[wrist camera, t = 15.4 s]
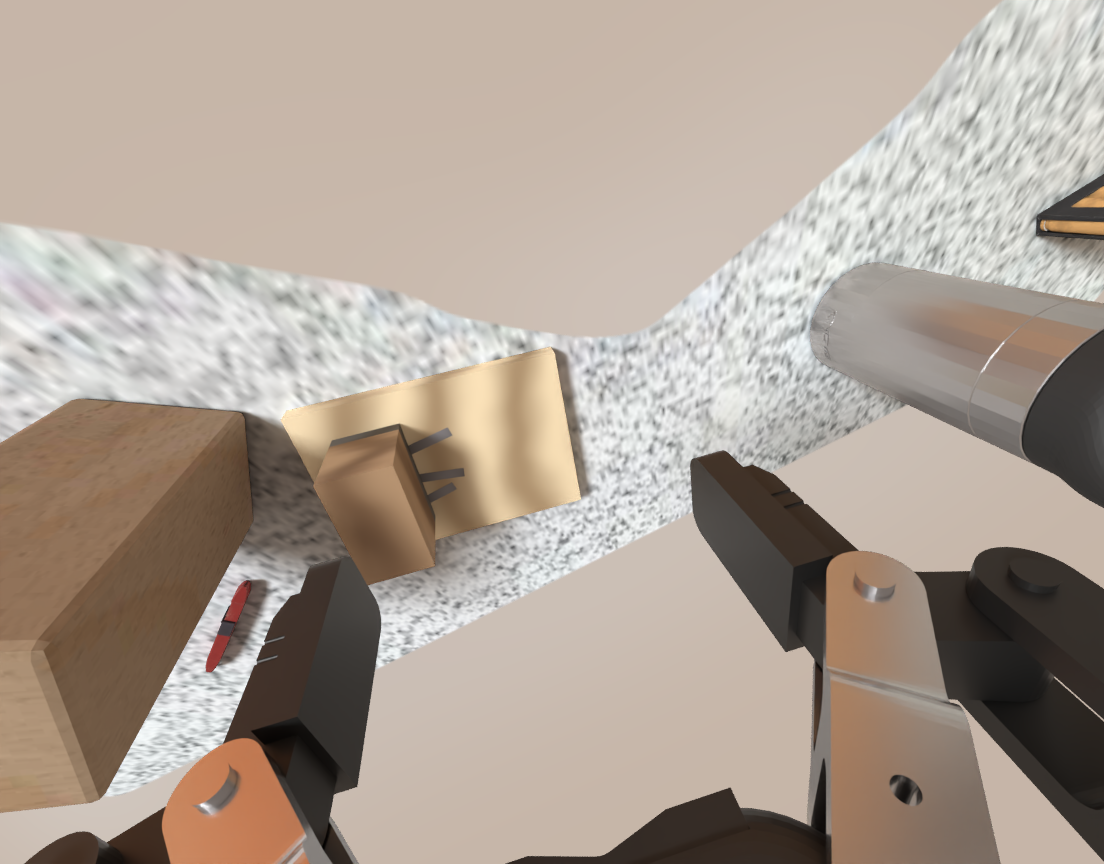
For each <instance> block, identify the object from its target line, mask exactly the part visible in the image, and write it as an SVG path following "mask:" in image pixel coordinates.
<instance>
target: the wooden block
mask: <svg viewBox="0 0 1104 864" xmlns="http://www.w3.org/2000/svg"><path fill="white" fill-rule="evenodd" d="M252 522H253V512H252V500H251V488H250V477H249V465H248V453H247V442H246V430H245V419H244V416H243V414H242V413H239V412H232V411H220V410H208V409H197V408H185V407H173V406H161V405H149V404H137V403H125V402H113V401H102V400H90V399H76V400H71V401H70V402H68V403H66V404H65V405H63V406H61V407H60V408H58V409H56V410H55V411H53V412H51V413H50V414H48V415H46V416H45V417H43V418H41V419H40V420H38V421H36V422H35V423H33V424H31V425H30V426H28V427H26V428H25V429H23V430H21V431H20V432H18V433H16V434H15V435H13V436H11V437H10V438H8V439H6V440H5V441H3V442H1V443H0V813H3V812H12V811H21V810H30V809H39V808H47V807H57V806H66V805H75V804H84V803H92V802H94V801H97V800H99V799H100V798H101V797H102V796H103V795H104V794H105V793H106V791H107V789H108V787H109V786H110V784H111V782H112V780H113V778H114V776H115V775H116V773H117V771H118V769H119V767H120V765H121V764H122V762H123V760H124V758H125V756H126V754H127V752H128V751H129V749H130V747H131V745H132V743H133V741H134V740H135V738H136V736H137V734H138V732H139V730H140V729H141V727H142V725H143V723H144V721H145V719H146V718H147V716H148V714H149V712H150V710H151V708H152V706H153V705H154V703H155V701H156V699H157V697H158V695H159V694H160V692H161V690H162V688H163V686H164V684H165V683H166V681H167V679H168V677H169V675H170V673H171V671H172V670H173V668H174V666H175V664H176V662H177V660H178V659H179V657H180V655H181V653H182V651H183V649H184V648H185V646H186V644H187V642H188V640H189V638H190V636H191V635H192V633H193V631H194V629H195V627H196V625H197V624H198V622H199V620H200V618H201V616H202V614H203V613H204V611H205V609H206V607H207V605H208V603H209V601H210V600H211V598H212V596H213V594H214V592H215V590H216V589H217V587H218V585H219V583H220V581H221V579H222V578H223V576H224V574H225V572H226V570H227V568H228V566H229V565H230V563H231V561H232V559H233V557H234V555H235V554H236V552H237V550H238V548H239V546H240V544H241V543H242V541H243V539H244V537H245V535H246V533H247V532H248V530H249V528H250V526H251V524H252Z"/></svg>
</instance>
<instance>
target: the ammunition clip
mask: <svg viewBox="0 0 1104 864" xmlns="http://www.w3.org/2000/svg"><path fill="white" fill-rule="evenodd" d="M1037 235H1040V236H1055V237H1069V238H1083V239H1097V240H1104V174H1103V175H1102V176H1100V177H1098V178H1097V179H1095V180H1094V181H1092V182H1090V183H1089V184H1087V185H1085V186H1084V187H1082V188H1081V189H1079V190H1077V191H1076V192H1074V193H1072V194H1071V195H1069V196H1068V197H1066V198H1064V199H1063V200H1061V201H1059V202H1058V203H1056V204H1054V205H1053V206H1051V207H1050V208H1048V209H1046V210H1045V211H1043V212H1041V213H1040V214H1038V217H1037Z"/></svg>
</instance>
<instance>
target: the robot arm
mask: <svg viewBox="0 0 1104 864" xmlns="http://www.w3.org/2000/svg"><path fill="white" fill-rule="evenodd" d="M810 342H811V347H812V350H813V352H814V354H815V356H816V358H817V359H818V360H819V361H820V362H821V363H823V364H825V365H827V366H829V367H831V368H833V369H835V370H837V371H839V372H841V373H843V374H845V375H847V376H849V377H852V378H854V379H856V380H857V381H859V382H861V383H864V384H866V385H868V386H870V387H872V388H874V389H876V390H878V391H880V392H883V393H885V394H887V395H889V396H891V397H893V398H895V399H897V400H899V401H901V402H904V403H906V404H908V405H910V406H912V407H914V408H916V409H918V410H920V411H923V412H925V413H927V414H929V415H931V416H933V417H935V418H937V419H940V420H942V421H944V422H946V423H948V424H950V425H952V426H954V427H956V428H959V429H960V430H963V431H965V432H967V433H969V434H971V435H973V436H975V437H977V438H979V439H982V440H984V441H986V442H989V443H990V444H992V445H995V446H997V447H999V448H1001V449H1003V450H1005V451H1007V452H1010V453H1011V454H1014V455H1016V456H1018V457H1020V458H1022V459H1024V460H1026V461H1028V462H1031V463H1033V464H1035V465H1037V466H1039V467H1041V468H1043V469H1045V470H1048V471H1049V472H1051V473H1054V474H1055V475H1057V476H1059V477H1060V478H1061V479H1062V480H1064V481H1065V482H1066V483H1067V484H1068V485H1069V486H1070V487H1072V488H1073V489H1074V490H1075V491H1077V492H1078V493H1079V494H1081V495H1082V496H1084V497H1085V498H1087V499H1089V500H1090V501H1092V502H1094V503H1096V504H1098V505H1099V506H1101V507H1103V508H1104V303H1098V302H1093V301H1086V300H1080V299H1075V298H1070V297H1064V296H1059V295H1053V294H1048V293H1043V292H1037V291H1032V290H1026V289H1021V288H1015V287H1010V286H1005V285H999V284H994V283H988V282H983V281H978V280H972V279H967V278H961V277H956V276H951V275H945V274H940V273H934V272H929V271H925V270H920V269H914V268H909V267H903V266H898V265H892V264H887V263H868V264H864V265H861V266H859V267H856V268H854V269H852V270H850V271H849V272H847V273H846V274H845V275H843V276H842V277H840V278H839V279H838V280H837V281H836V282H835V283H834V284H833V285H832V286H831V287H830V288H829V290H828V291H827V292H826V294H825V295H824V296H823V298H822V299H821V301H820V303H819V305H818V306H817V309H816V311H815V314H814V316H813V319H812V324H811V329H810ZM690 470H691V487H692V505H693V514H694V518H695V521H696V524H697V526H698V528H699V531H700V532H701V534H702V536H703V537H704V538H705V540H706V541H707V543H708V544H709V545H710V547H711V548H712V550H713V551H714V552H715V554H716V555H717V557H718V558H719V559H720V561H721V562H722V564H723V565H724V566H725V568H726V569H727V570H728V572H729V573H730V575H731V576H732V578H733V579H734V580H735V582H736V583H737V585H738V586H739V587H740V589H741V590H742V592H743V593H744V594H745V596H746V597H747V599H748V600H749V601H750V603H751V604H752V606H753V607H754V608H755V610H756V611H757V613H758V614H759V615H760V617H761V618H762V619H763V621H764V622H765V624H766V625H767V627H768V628H769V629H770V631H771V632H772V634H773V635H774V636H775V638H776V639H777V640H778V642H779V643H780V645H781V646H782V648H783V649H784V650H785V652H788V651H790V650H794V649H797V648H800V647H803V646H805V647H806V649H807V650H808V651H809V652H810V654H811V655H812V656H813V658H814V665H813V694H812V695H813V696H812V735H811V736H812V738H811V766H810V780H809V793H808V809H807V824H804V823H802V822H800V821H797V820H795V819H793V818H790V817H788V816H784V815H781V814H777V813H774V812H771V811H765V810H758V809H752V808H740V807H739V805H738V803H737V801H736V799H735V797H734V794H733V793H732V790H731V788H728V789H725V790H722V791H719V792H716V793H713V794H710V795H707V796H704V797H701V798H698V799H695V800H692V801H689V802H686V803H683V804H681V805H678V806H675V807H672V808H669V809H666V810H664V811H663V812H662V813H661V814H659V815H658V816H657V817H655V818H654V819H653V820H651V821H650V822H649V823H647V824H646V825H645V826H643V827H642V828H641V829H639V830H638V831H637V832H635V833H634V834H633V835H631V836H630V837H629V838H627V839H626V840H625V841H623V842H622V843H621V844H619V845H618V846H617V847H615V848H614V849H613V850H612V851H610V852H609V853H607V854H605V855H602V856H597V857H561V856H557V857H556V856H527V857H524V858H521V859H518V860H515V861H512V862H509V863H507V864H1001V863H1000V859H999V854H998V850H997V846H996V841H995V837H994V832H993V828H992V824H991V819H990V814H989V810H988V805H987V801H986V797H985V792H984V788H983V784H982V779H981V775H980V770H979V766H978V761H977V757H976V753H975V748H974V743H973V739H972V735H971V730H970V726H969V723H968V720H967V717H966V715H965V713H964V711H963V709H962V708H961V707H960V706H959V705H957V704H954V703H950V702H949V700H948V699H955V700H958V701H959V702H960V703H961V704H962V705H963V706H964V707H965V709H966V710H967V711H968V712H969V713H970V714H971V715H972V716H973V717H974V719H975V720H976V721H977V722H978V723H979V724H980V725H981V726H982V727H983V729H984V730H985V731H986V732H987V733H988V734H989V735H990V736H991V737H992V738H993V740H994V741H995V742H996V743H997V744H998V745H999V746H1000V747H1001V748H1002V749H1003V751H1004V752H1005V753H1006V754H1007V755H1008V756H1009V757H1010V758H1011V759H1012V761H1013V762H1014V763H1015V764H1016V765H1017V766H1018V767H1019V768H1020V769H1021V770H1022V772H1023V773H1024V774H1025V775H1026V776H1027V777H1028V778H1029V779H1030V780H1031V781H1032V783H1033V784H1034V785H1035V786H1036V787H1037V788H1038V789H1039V790H1040V791H1041V793H1042V794H1043V795H1044V796H1045V797H1046V798H1047V799H1048V800H1049V801H1050V803H1052V805H1053V806H1054V807H1055V808H1056V809H1057V810H1058V811H1059V812H1060V814H1061V815H1062V816H1063V817H1064V818H1065V819H1066V820H1067V821H1068V822H1069V823H1070V825H1071V826H1072V827H1073V828H1074V829H1075V830H1076V831H1077V832H1078V833H1079V835H1080V836H1082V838H1083V839H1084V840H1085V841H1086V842H1087V843H1088V844H1089V846H1090V847H1091V848H1092V849H1093V850H1094V851H1095V852H1096V853H1097V854H1098V856H1099V857H1100V858H1101V859H1102V860H1103V861H1104V722H1103V721H1102V720H1101V719H1100V718H1099V717H1098V716H1097V715H1096V714H1094V713H1093V712H1092V711H1091V710H1090V709H1089V708H1088V707H1086V706H1085V705H1084V704H1083V703H1082V702H1081V701H1080V700H1079V699H1077V698H1076V697H1075V696H1074V695H1073V694H1072V693H1071V692H1069V691H1068V690H1067V689H1066V688H1065V687H1064V686H1062V685H1061V684H1060V683H1059V682H1058V681H1057V680H1056V679H1055V678H1054V676H1055V677H1056V678H1058V680H1060V681H1061V682H1062V683H1063V684H1064V685H1065V686H1066V687H1068V688H1069V689H1070V690H1071V691H1072V692H1073V693H1074V694H1076V695H1077V696H1078V697H1079V698H1080V699H1081V700H1082V701H1084V702H1085V703H1086V704H1087V705H1088V706H1089V707H1091V708H1092V709H1093V710H1094V711H1095V712H1096V713H1097V714H1098V715H1100V716H1101V717H1102V718H1103V719H1104V589H1103V588H1102V587H1100V586H1099V585H1097V584H1096V583H1094V582H1093V581H1091V580H1090V579H1088V578H1087V577H1085V576H1084V575H1082V574H1080V573H1079V572H1078V571H1076V570H1075V569H1073V568H1071V567H1070V566H1068V565H1066V564H1065V563H1063V562H1061V561H1059V560H1057V559H1055V558H1052V557H1049V556H1047V555H1044V554H1041V553H1038V552H1035V551H1030V550H1026V549H1021V548H1013V547H998V548H991V549H988V550H985V551H983V552H981V553H980V554H978V556H977V557H976V558H975V560H974V563H973V566H972V569H971V571H963V572H961V571H958V572H913V571H912V570H911V569H910V568H909V567H907V566H906V565H904V564H903V563H901V562H899V561H897V560H895V559H893V558H891V557H888V556H885V555H882V554H879V553H874V552H868V551H858V550H857V549H856V548H855V547H854V546H853V545H852V544H851V543H849V541H847V540H846V539H845V538H844V537H843V536H842V535H841V534H840V533H839V532H837V531H836V530H835V529H834V528H833V527H832V526H831V525H830V524H829V523H827V522H826V521H825V520H824V519H823V518H822V517H821V516H820V515H818V513H816V512H815V511H814V510H813V509H812V508H811V507H810V506H809V505H807V504H804V502H803V500H802V499H801V498H800V497H798V496H797V495H796V494H795V493H794V492H791V491H790V488H789V487H787V486H786V485H785V484H784V483H783V482H782V481H781V480H780V479H779V478H778V477H777V476H775V475H774V474H772V473H770V472H768V471H765V470H763V469H761V468H759V467H756V466H754V465H750V466H746V467H742V466H741V465H740V464H739V463H738V462H737V461H736V460H735V459H734V458H733V457H732V456H731V455H730V454H729V453H728V452H726V451H719V452H715V453H712V454H708V455H704V456H701V457H697V458H694V459H692V460H691V464H690ZM380 632H381V616H380V610H379V607H378V604H377V601H376V599H375V598H374V596H373V594H372V592H371V591H370V589H369V587H368V585H367V584H366V582H365V580H364V578H363V577H362V575H361V573H360V571H359V570H358V568H357V566H356V564H355V563H354V561H353V560H352V558H350V557H349V556H344V557H340V558H337V559H333V560H330V561H326V562H323V563H319V564H316V565H313V566H311V567H310V568H309V570H308V572H307V575H306V578H305V581H304V583H303V586H302V589H301V592H300V593H299V594H296V595H292V596H290V598H289V599H288V600H287V602H286V603H285V604H284V605H283V607H282V608H281V609H280V610H279V612H278V613H277V614H276V616H275V617H274V618H273V620H272V623H271V625H270V628H269V630H268V633H267V635H266V638H265V640H264V642H265V645H264V646H262V648H261V650H260V653H259V655H258V658H257V660H256V661H257V665H255V666H254V668H253V670H252V673H251V675H250V678H249V680H248V683H247V685H246V688H245V690H244V693H243V695H242V698H241V700H240V703H239V705H238V708H237V710H236V713H235V715H234V718H233V720H232V723H231V725H230V728H229V730H228V733H227V735H226V738H225V740H224V743H223V744H222V745H220V746H218V747H217V748H215V749H214V750H212V751H211V752H209V753H208V754H207V755H205V756H204V757H203V758H202V759H201V760H199V761H198V762H197V763H196V764H195V765H194V766H193V767H192V768H191V769H190V770H189V771H188V772H187V774H186V775H185V776H184V777H183V778H182V780H181V781H180V782H179V784H178V785H177V787H176V788H175V790H174V791H173V793H172V795H171V797H170V799H169V801H168V803H167V806H166V807H164V808H162V809H161V810H159V811H158V812H156V813H154V814H153V815H151V816H149V817H148V818H146V819H144V820H143V821H141V822H140V823H138V824H136V825H135V826H133V827H131V828H130V829H128V830H127V831H125V832H123V833H122V834H120V835H119V836H117V837H115V838H113V839H112V840H110V841H108V842H107V843H106V842H105V841H103V840H101V839H100V838H98V837H97V836H95V835H93V834H92V833H90V832H76V833H72V834H69V835H67V836H65V837H62V838H60V839H58V840H56V841H54V842H53V843H51V844H49V845H48V846H46V847H45V848H43V849H42V850H41V851H39V852H38V853H37V854H35V855H34V856H33V857H32V858H30V859H29V860H28V861H27V862H26V863H25V864H359V863H358V862H357V860H356V858H355V856H354V855H353V853H352V851H351V849H350V848H349V846H348V844H347V842H346V841H345V839H344V837H343V836H342V834H341V832H340V831H339V829H338V827H337V825H336V824H335V822H334V821H333V819H332V818H331V817H330V812H331V807H332V802H333V795H334V794H336V793H339V792H343V791H345V790H349V789H352V788H355V787H357V784H358V778H359V771H360V764H361V758H362V751H363V745H364V738H365V731H366V725H367V718H368V712H369V705H370V698H371V692H372V685H373V678H374V672H375V665H376V658H377V652H378V645H379V639H380Z"/></svg>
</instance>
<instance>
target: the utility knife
mask: <svg viewBox="0 0 1104 864" xmlns="http://www.w3.org/2000/svg"><path fill="white" fill-rule="evenodd" d="M250 591H251V583H250V581H244V582H243V583H242V584H241V585H240V586H239V587H238V589H237V591H236V593H235V595H234V597H233V599H232V601H231V602H232V603H231V605H230V606H229V607H228V609H227V611H226V613H225V615H224V617H223V619H222V621H221V623H222V624H221V626H220V629H219V631H218V634H217V637H216V639H215V642H214V644H213V646H212V649H211V651H210V654H209V656H208V658H207V663H206V672H212V671H213V670H214V669H215V668H216V666H217V665H218V663H219V661H220V660H221V657H222V655H223V653H224V651H225V649H226V646H227V644H228V642H229V639H230V637H231V635H232V632H233V630H234V628H235V626H236V623H237V621H238V619H239V616H240V614H241V612H242V609H243V607H244V605H245V602H246V600H247V598H248V595H249V593H250Z"/></svg>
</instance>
